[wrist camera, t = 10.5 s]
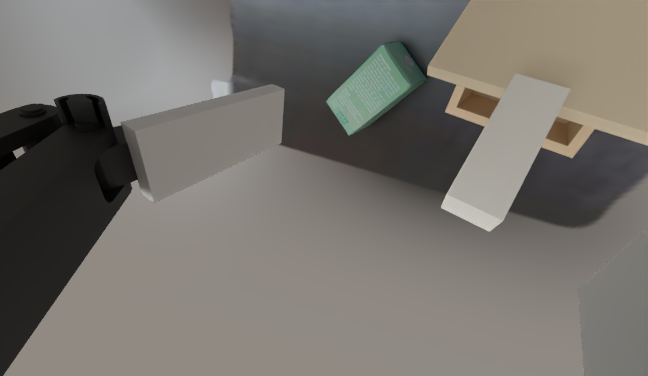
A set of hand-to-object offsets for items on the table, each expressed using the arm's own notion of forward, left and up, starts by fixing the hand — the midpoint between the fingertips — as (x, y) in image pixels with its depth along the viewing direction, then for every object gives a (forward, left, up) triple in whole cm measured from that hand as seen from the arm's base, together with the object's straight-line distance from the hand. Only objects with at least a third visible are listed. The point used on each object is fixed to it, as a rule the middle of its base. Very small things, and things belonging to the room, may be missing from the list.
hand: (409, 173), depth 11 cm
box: (+8, -17, -39) cm, 43 cm away
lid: (-4, +3, -17) cm, 18 cm away
